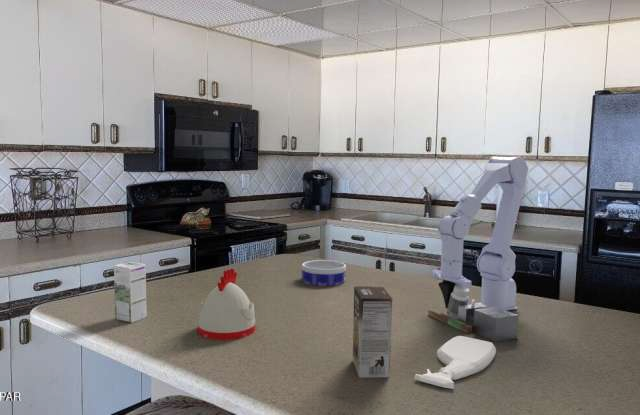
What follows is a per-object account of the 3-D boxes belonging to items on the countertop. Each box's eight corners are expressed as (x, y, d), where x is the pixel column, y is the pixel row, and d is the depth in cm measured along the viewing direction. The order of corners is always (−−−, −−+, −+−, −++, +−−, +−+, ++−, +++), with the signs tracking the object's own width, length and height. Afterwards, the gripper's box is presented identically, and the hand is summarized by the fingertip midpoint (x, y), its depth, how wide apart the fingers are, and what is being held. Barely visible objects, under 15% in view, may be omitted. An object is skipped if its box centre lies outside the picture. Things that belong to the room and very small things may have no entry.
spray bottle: (499, 356, 116) (461, 398, 95) (452, 345, 122) (407, 383, 102) (500, 343, 115) (462, 383, 95) (452, 333, 121) (407, 368, 101)
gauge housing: (494, 328, 133) (496, 306, 132) (517, 338, 126) (518, 315, 126) (473, 332, 130) (474, 309, 130) (494, 342, 123) (496, 318, 123)
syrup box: (147, 317, 136) (146, 263, 135) (130, 323, 131) (129, 267, 130) (131, 314, 139) (130, 260, 137) (113, 320, 134) (112, 264, 132)
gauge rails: (459, 310, 148) (460, 305, 148) (500, 327, 134) (501, 322, 134) (428, 314, 144) (428, 309, 144) (467, 333, 129) (467, 327, 129)
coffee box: (351, 360, 111) (353, 285, 109) (381, 359, 111) (383, 285, 110) (358, 378, 102) (360, 297, 100) (390, 377, 102) (393, 297, 101)
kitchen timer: (264, 325, 133) (265, 267, 131) (239, 342, 120) (239, 278, 118) (216, 318, 137) (216, 262, 136) (186, 335, 124) (186, 273, 123)
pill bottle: (463, 321, 139) (471, 294, 136) (445, 317, 140) (453, 290, 137) (463, 312, 144) (470, 286, 141) (446, 308, 144) (453, 282, 141)
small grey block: (478, 321, 138) (479, 297, 138) (497, 329, 132) (499, 304, 131) (457, 324, 136) (458, 299, 135) (476, 333, 129) (477, 307, 129)
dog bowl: (346, 287, 173) (346, 269, 173) (300, 286, 174) (300, 268, 173) (344, 276, 189) (345, 260, 188) (302, 275, 189) (302, 259, 188)
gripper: (424, 255, 147) (422, 302, 149) (457, 265, 134) (454, 317, 136) (444, 254, 150) (442, 300, 152) (478, 264, 137) (476, 314, 138)
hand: (449, 308), depth 144 cm, fingers closed, pressing on pill bottle
